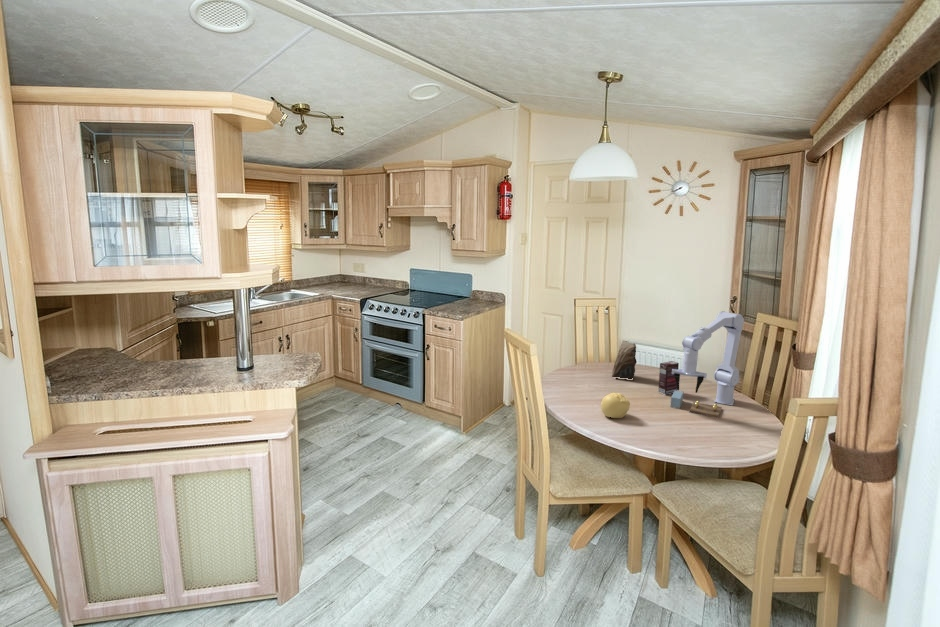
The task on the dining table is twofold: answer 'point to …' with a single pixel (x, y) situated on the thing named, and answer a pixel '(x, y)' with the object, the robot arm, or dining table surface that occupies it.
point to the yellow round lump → (615, 405)
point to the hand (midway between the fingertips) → (687, 390)
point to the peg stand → (705, 409)
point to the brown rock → (625, 361)
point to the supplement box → (667, 377)
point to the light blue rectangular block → (676, 399)
